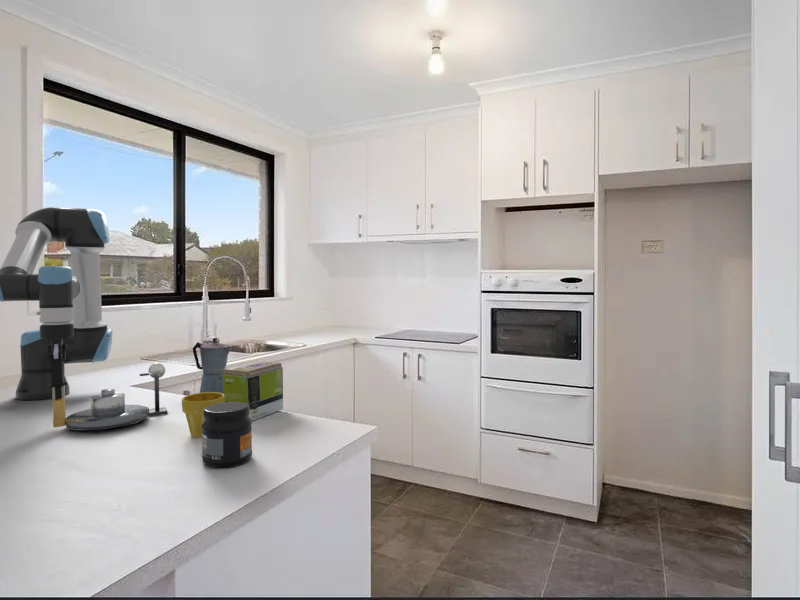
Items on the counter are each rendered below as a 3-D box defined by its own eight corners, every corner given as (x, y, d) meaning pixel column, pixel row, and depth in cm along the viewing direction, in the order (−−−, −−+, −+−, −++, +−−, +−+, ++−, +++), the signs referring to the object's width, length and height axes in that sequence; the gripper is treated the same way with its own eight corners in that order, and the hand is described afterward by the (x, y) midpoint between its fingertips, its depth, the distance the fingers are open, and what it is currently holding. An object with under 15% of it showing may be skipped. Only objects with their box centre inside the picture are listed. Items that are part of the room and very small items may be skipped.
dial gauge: (139, 413, 146) (138, 362, 146) (165, 410, 150) (164, 360, 149) (140, 417, 142) (139, 365, 142) (167, 414, 146) (166, 363, 145)
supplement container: (261, 454, 112) (260, 402, 112) (235, 471, 102) (235, 414, 101) (220, 450, 114) (219, 399, 114) (191, 467, 104) (190, 411, 104)
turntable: (56, 417, 138) (56, 392, 138) (146, 406, 150) (146, 383, 149) (50, 436, 121) (49, 408, 120) (152, 422, 132) (151, 396, 132)
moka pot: (224, 399, 164) (223, 340, 163) (183, 397, 167) (182, 338, 166) (239, 393, 173) (238, 336, 172) (200, 391, 176) (199, 335, 175)
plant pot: (183, 442, 120) (183, 403, 120) (181, 431, 129) (180, 394, 129) (228, 436, 125) (227, 398, 125) (222, 425, 134) (221, 390, 134)
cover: (92, 412, 138) (91, 388, 137) (125, 408, 141) (124, 385, 141) (90, 419, 131) (90, 394, 130) (125, 414, 134) (124, 391, 134)
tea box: (258, 406, 155) (258, 360, 154) (283, 410, 150) (283, 362, 150) (222, 418, 141) (221, 367, 141) (248, 423, 137) (248, 370, 136)
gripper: (42, 322, 136) (44, 406, 136) (36, 325, 125) (39, 417, 125) (74, 321, 140) (76, 403, 140) (72, 324, 128) (74, 413, 129)
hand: (59, 409), depth 133 cm, fingers closed
